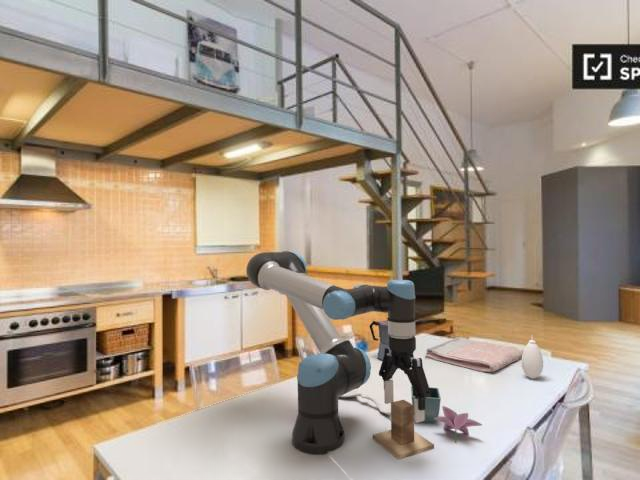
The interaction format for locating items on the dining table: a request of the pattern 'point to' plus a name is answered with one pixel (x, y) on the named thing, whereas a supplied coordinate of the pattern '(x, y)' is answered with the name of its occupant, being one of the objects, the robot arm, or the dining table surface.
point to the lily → (456, 421)
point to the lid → (402, 432)
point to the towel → (474, 354)
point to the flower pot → (430, 404)
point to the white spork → (382, 408)
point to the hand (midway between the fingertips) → (403, 411)
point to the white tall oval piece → (532, 360)
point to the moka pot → (381, 337)
